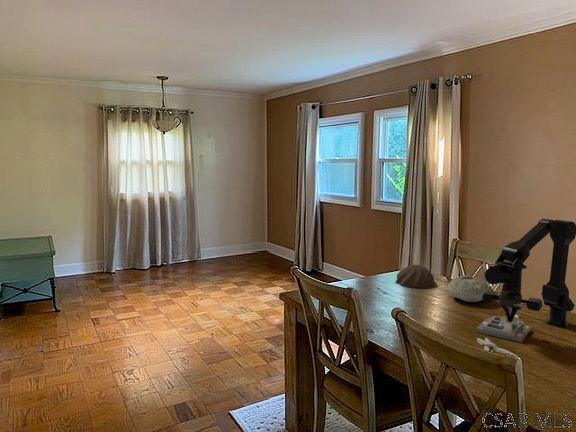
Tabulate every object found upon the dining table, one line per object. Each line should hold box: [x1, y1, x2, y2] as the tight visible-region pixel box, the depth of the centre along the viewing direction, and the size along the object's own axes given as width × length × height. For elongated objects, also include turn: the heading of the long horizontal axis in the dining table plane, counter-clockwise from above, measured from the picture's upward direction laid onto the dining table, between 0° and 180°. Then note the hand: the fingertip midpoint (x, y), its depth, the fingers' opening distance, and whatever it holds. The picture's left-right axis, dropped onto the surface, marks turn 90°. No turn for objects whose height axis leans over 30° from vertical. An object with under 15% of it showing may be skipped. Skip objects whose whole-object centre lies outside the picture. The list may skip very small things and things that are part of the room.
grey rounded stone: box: [447, 275, 491, 303], centre depth 196 cm, size 18×18×10 cm
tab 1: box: [499, 316, 508, 326], centre depth 159 cm, size 3×3×4 cm
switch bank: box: [475, 315, 532, 343], centre depth 159 cm, size 14×15×3 cm
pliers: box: [476, 337, 519, 357], centre depth 144 cm, size 10×2×15 cm
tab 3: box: [512, 314, 520, 325], centre depth 161 cm, size 3×3×4 cm
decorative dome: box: [395, 264, 435, 289], centre depth 224 cm, size 19×20×10 cm
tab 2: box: [503, 321, 514, 332], centre depth 154 cm, size 3×3×4 cm
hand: (510, 323), depth 158 cm, fingers closed
